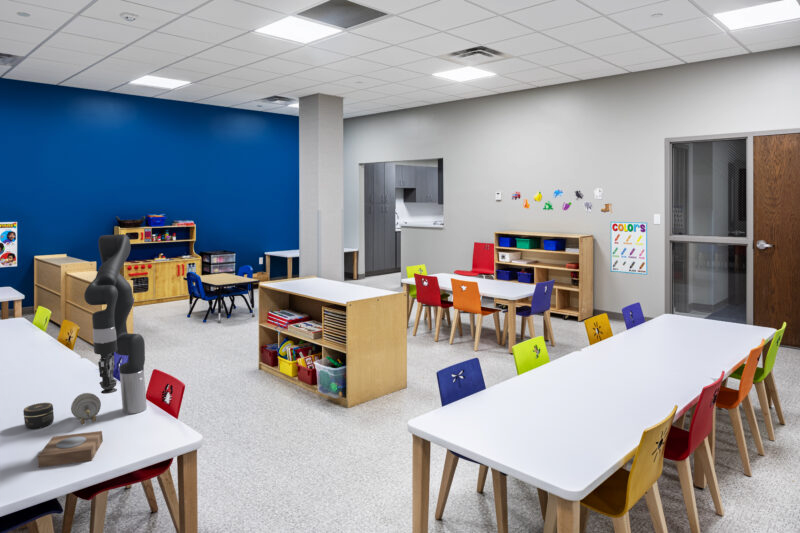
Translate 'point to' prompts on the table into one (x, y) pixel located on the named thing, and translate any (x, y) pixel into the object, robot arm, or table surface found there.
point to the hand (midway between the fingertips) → (108, 383)
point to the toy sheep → (86, 407)
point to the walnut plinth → (70, 449)
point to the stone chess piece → (112, 384)
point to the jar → (38, 415)
